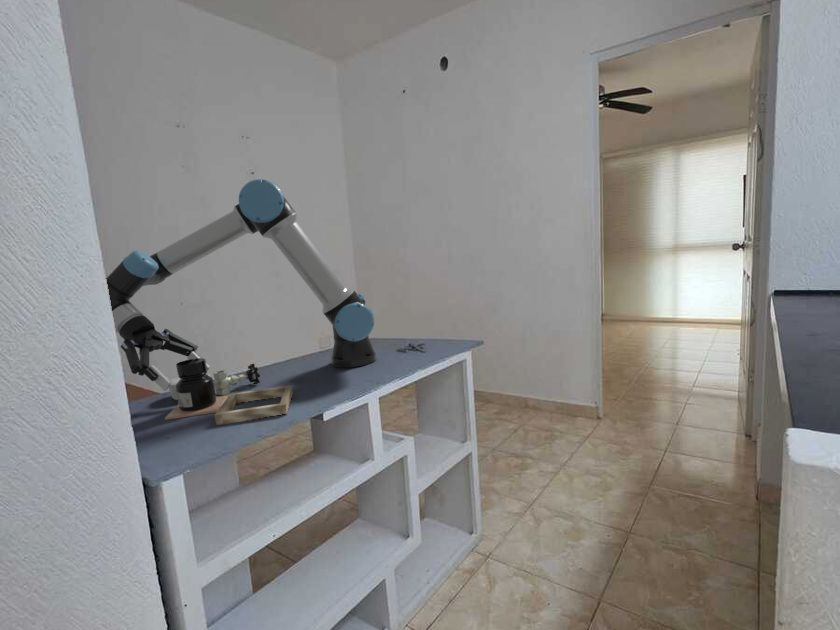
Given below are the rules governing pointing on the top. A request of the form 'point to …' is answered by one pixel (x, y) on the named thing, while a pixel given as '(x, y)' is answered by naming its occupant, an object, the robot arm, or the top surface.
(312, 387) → the top surface
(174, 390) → the ramekin
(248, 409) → the birch collar
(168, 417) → the terracotta tile
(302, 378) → the top surface
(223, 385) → the valve
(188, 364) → the ink bottle
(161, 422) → the top surface
